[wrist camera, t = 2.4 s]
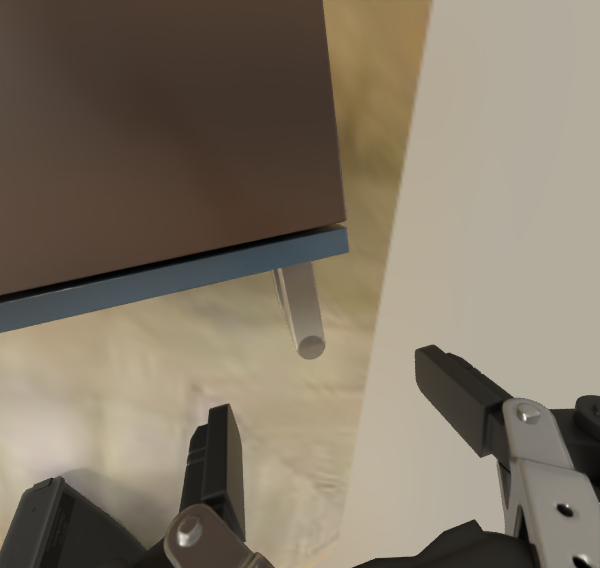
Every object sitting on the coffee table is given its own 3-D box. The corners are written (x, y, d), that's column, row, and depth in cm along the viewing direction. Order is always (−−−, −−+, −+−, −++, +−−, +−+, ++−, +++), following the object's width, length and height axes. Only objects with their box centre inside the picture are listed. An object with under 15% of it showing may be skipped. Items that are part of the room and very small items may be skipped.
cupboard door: (298, 273, 26) (361, 361, 13) (106, 318, 24) (-33, 475, 11) (285, 202, 24) (347, 227, 11) (72, 244, 22) (-152, 336, 9)
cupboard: (284, 198, 24) (347, 221, 11) (71, 240, 22) (-164, 331, 9) (257, 49, 20) (304, -178, 7) (-3, 80, 18) (-596, -172, 5)
